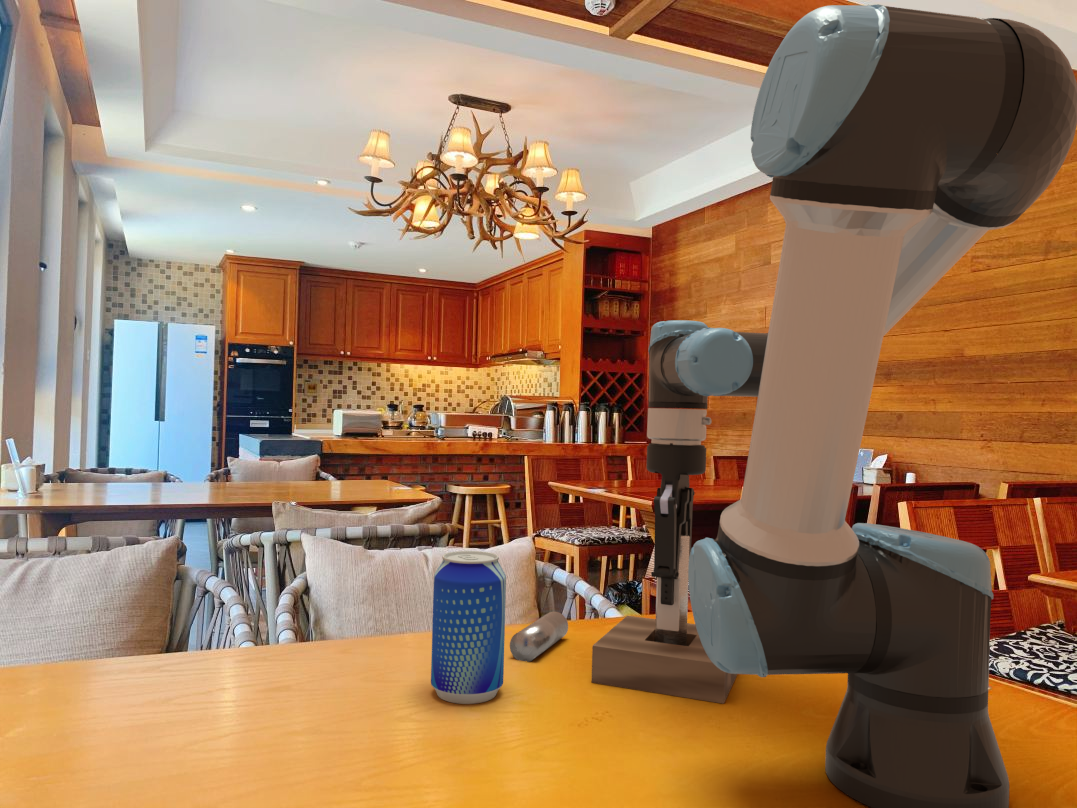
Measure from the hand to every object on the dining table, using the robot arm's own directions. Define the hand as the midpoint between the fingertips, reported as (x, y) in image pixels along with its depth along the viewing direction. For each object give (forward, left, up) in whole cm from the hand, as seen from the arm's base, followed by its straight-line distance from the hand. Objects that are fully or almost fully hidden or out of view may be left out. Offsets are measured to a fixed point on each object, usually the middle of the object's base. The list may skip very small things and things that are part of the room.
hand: (671, 624), depth 103 cm
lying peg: (+2, +18, -2) cm, 19 cm away
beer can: (-18, +20, -6) cm, 28 cm away
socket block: (0, 0, -6) cm, 6 cm away
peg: (0, 0, -5) cm, 5 cm away
